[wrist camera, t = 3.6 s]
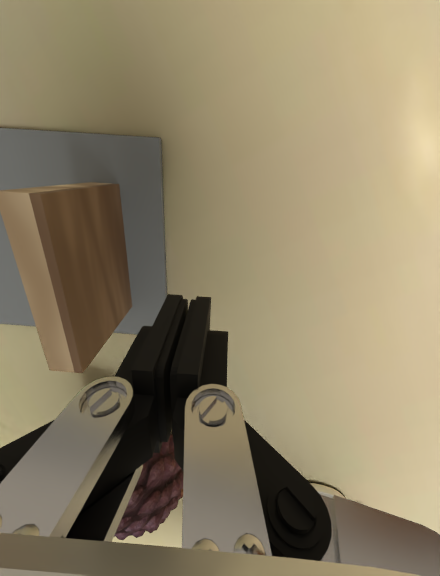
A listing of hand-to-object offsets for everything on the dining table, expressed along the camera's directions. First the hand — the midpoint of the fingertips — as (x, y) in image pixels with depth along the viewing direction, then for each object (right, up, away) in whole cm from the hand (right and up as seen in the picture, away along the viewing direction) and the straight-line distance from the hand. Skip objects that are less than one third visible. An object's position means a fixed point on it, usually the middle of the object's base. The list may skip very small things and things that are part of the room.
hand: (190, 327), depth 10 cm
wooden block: (-7, +5, +10) cm, 13 cm away
